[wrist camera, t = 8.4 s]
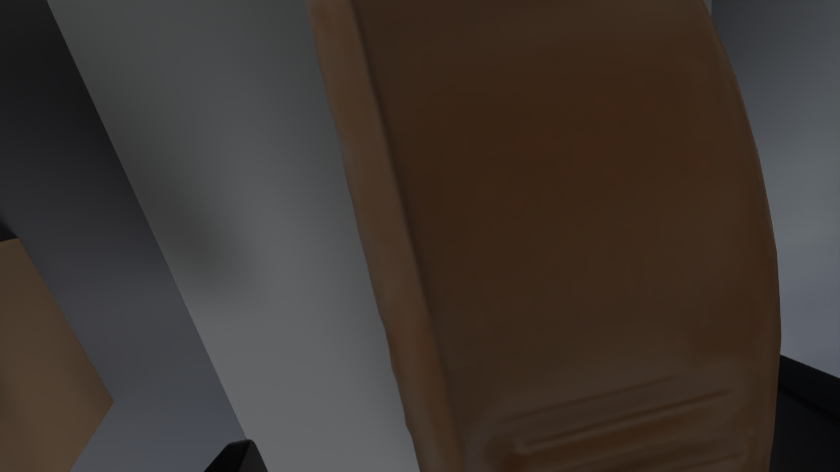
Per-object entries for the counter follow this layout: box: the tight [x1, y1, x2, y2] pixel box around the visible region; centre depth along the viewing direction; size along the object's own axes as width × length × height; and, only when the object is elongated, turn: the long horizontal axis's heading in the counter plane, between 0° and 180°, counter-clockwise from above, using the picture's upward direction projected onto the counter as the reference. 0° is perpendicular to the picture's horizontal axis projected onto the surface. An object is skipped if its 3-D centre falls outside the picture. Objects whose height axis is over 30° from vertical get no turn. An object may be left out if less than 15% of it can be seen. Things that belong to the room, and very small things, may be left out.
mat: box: [47, 0, 712, 472], centre depth 13 cm, size 12×19×1 cm, turn 11°
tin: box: [304, 0, 781, 472], centre depth 8 cm, size 15×3×8 cm, turn 11°
